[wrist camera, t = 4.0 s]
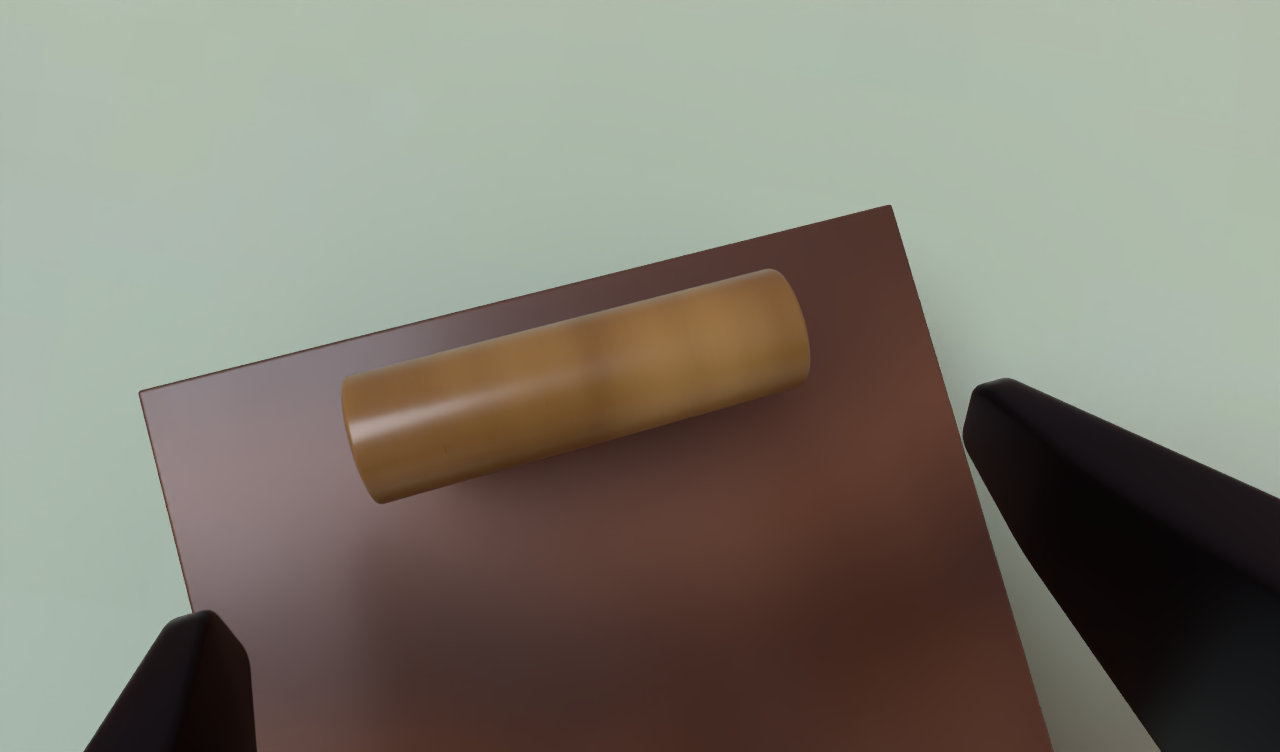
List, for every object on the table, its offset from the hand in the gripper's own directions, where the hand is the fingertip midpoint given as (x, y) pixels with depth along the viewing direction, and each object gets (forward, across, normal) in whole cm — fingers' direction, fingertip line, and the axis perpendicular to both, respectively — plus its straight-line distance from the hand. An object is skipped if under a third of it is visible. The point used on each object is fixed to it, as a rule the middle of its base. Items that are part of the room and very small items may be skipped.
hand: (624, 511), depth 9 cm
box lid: (+1, 0, +5) cm, 5 cm away
